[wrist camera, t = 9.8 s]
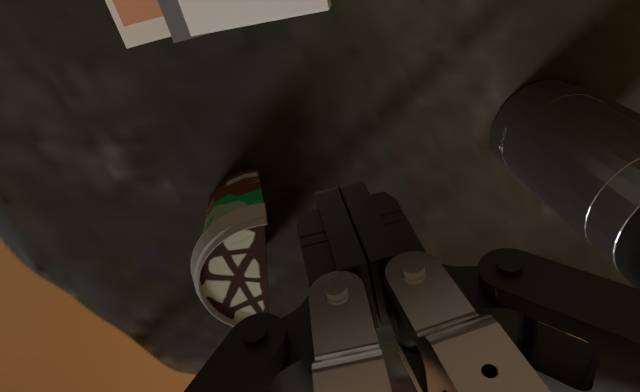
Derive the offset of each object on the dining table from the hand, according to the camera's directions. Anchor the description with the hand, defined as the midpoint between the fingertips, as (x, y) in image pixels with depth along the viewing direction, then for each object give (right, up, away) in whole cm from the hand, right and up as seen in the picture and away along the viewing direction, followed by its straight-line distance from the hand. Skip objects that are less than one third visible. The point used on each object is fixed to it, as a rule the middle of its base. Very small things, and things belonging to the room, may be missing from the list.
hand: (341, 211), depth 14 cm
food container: (-9, -1, +31) cm, 33 cm away
